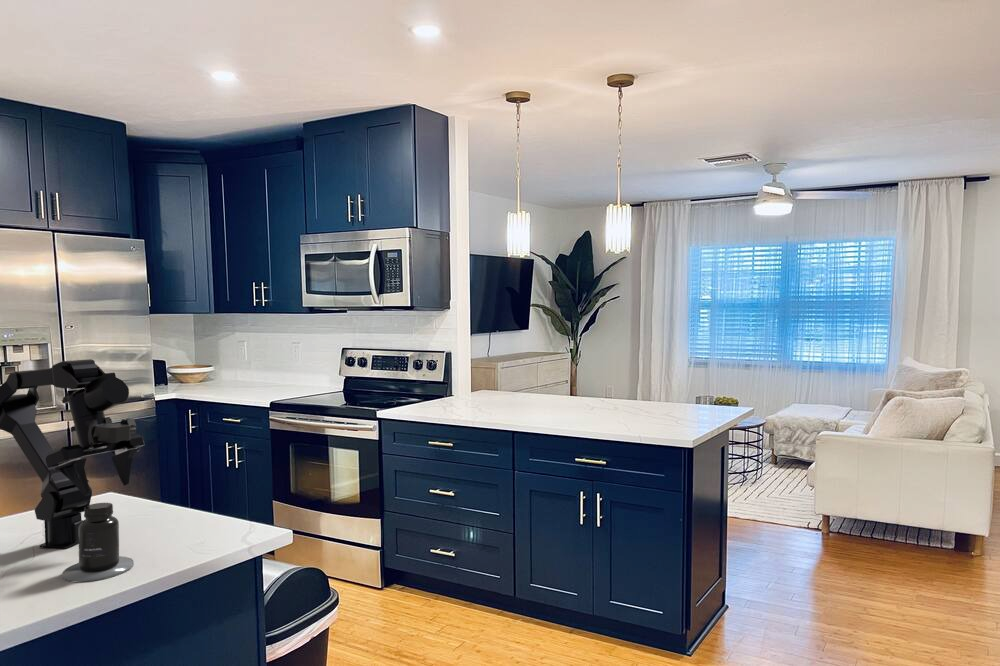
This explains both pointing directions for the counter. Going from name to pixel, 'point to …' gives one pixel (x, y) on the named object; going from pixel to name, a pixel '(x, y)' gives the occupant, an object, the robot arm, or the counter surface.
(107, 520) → the supplement bottle
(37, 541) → the counter surface
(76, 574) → the slate coaster
